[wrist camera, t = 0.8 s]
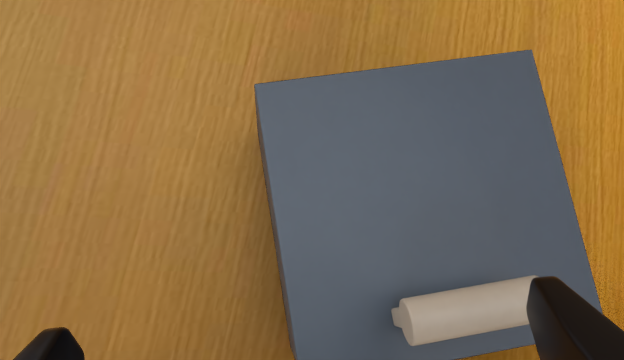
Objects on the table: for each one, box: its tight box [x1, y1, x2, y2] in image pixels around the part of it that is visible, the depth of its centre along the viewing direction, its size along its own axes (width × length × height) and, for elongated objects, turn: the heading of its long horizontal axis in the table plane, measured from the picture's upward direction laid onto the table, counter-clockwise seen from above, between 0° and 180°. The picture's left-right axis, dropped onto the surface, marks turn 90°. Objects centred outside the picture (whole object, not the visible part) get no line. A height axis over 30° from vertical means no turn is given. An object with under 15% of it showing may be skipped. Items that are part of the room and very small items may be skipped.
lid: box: [254, 50, 603, 360], centre depth 20 cm, size 12×13×4 cm
